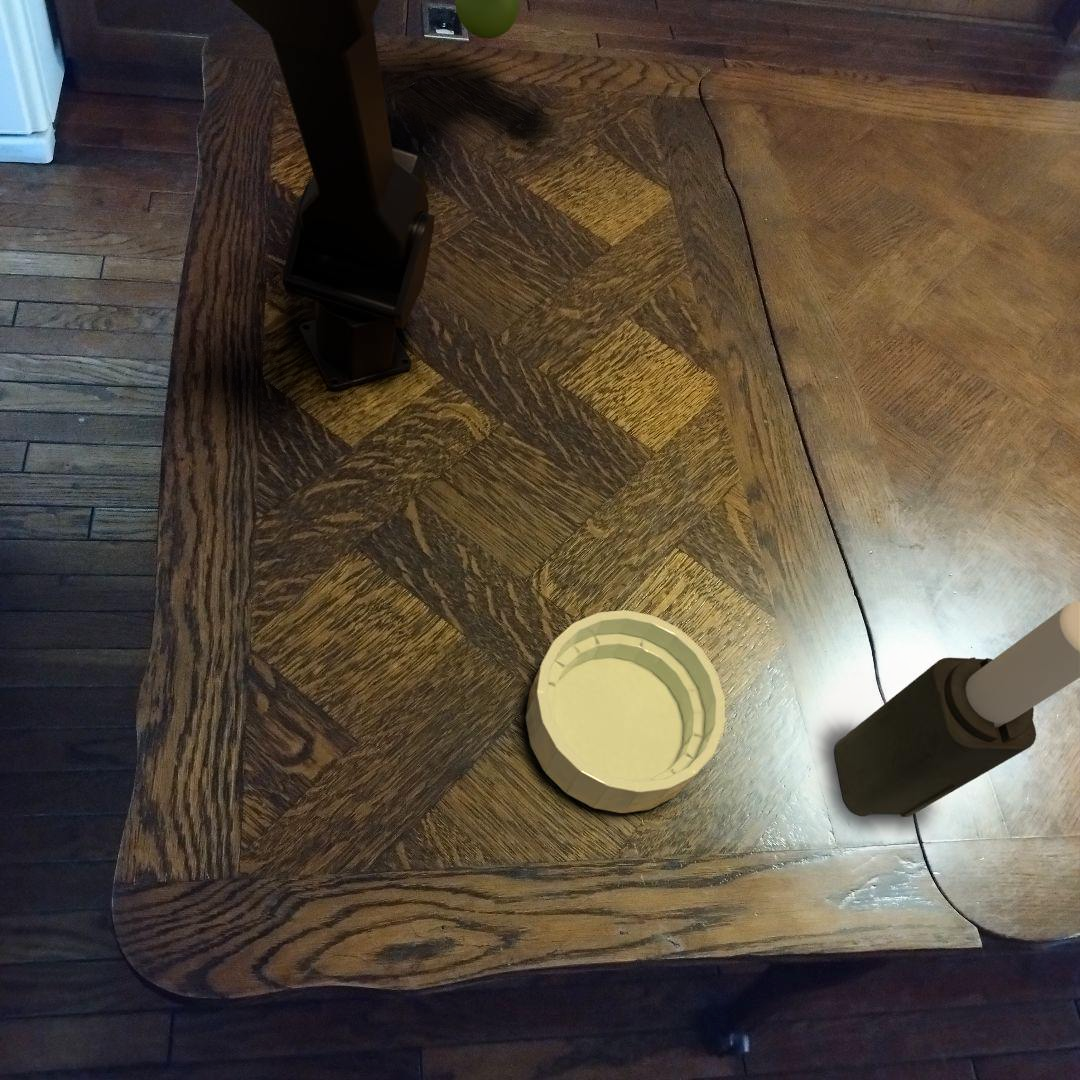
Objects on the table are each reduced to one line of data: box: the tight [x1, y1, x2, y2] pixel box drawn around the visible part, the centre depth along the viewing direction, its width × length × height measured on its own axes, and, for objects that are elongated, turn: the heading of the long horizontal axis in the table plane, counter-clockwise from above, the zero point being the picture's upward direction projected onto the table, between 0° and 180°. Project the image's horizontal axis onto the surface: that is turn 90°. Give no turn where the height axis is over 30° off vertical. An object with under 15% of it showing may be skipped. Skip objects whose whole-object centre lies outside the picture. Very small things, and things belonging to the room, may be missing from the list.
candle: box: [834, 600, 1080, 818], centre depth 52 cm, size 5×5×25 cm
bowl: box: [525, 609, 726, 814], centre depth 60 cm, size 11×11×5 cm
